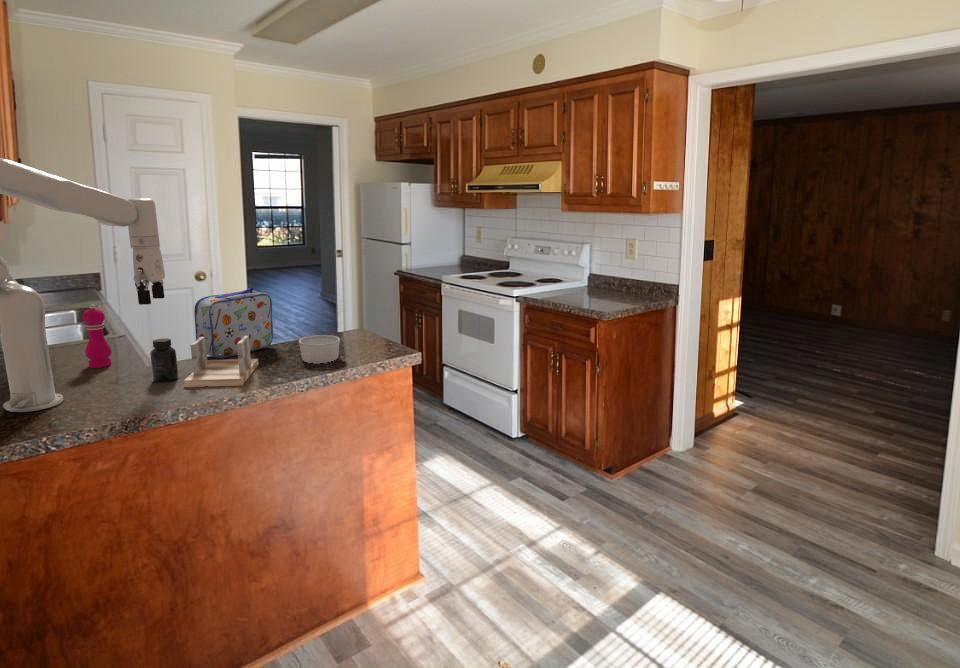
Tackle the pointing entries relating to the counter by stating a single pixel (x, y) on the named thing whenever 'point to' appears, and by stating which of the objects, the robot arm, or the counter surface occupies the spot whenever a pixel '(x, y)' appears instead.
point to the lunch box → (234, 321)
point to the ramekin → (319, 348)
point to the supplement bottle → (163, 361)
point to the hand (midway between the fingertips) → (152, 301)
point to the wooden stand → (220, 366)
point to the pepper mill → (96, 339)
